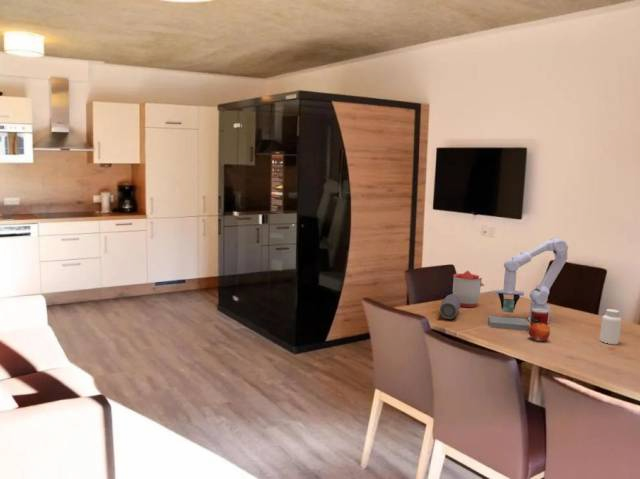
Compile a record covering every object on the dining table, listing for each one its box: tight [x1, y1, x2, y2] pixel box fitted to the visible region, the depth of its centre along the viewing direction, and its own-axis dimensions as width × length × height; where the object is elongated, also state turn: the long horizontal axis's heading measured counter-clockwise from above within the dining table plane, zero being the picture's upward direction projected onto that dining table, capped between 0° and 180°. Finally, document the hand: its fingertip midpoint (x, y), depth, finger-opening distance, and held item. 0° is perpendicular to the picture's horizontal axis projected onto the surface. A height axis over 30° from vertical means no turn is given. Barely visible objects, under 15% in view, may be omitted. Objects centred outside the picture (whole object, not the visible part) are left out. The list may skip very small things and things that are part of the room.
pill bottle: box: [599, 308, 623, 345], centre depth 257 cm, size 8×8×15 cm
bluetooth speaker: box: [439, 293, 461, 320], centre depth 294 cm, size 23×9×10 cm, turn 161°
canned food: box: [529, 308, 549, 327], centre depth 269 cm, size 8×8×11 cm
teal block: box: [501, 298, 515, 314], centre depth 292 cm, size 5×5×6 cm
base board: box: [487, 315, 530, 332], centre depth 280 cm, size 18×13×2 cm
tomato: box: [528, 323, 551, 342], centre depth 257 cm, size 9×9×8 cm
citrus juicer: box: [452, 270, 485, 308], centre depth 319 cm, size 16×17×20 cm
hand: (507, 308), depth 292 cm, fingers closed on teal block, 5 cm apart
